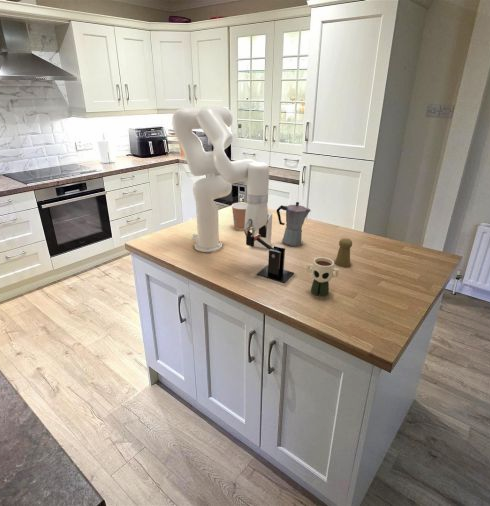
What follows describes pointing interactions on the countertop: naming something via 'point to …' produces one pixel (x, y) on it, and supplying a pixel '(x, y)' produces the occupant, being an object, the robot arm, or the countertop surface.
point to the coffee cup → (239, 215)
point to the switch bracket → (276, 266)
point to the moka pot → (293, 223)
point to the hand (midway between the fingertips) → (256, 241)
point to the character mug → (322, 275)
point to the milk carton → (268, 234)
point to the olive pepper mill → (344, 253)
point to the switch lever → (264, 243)
